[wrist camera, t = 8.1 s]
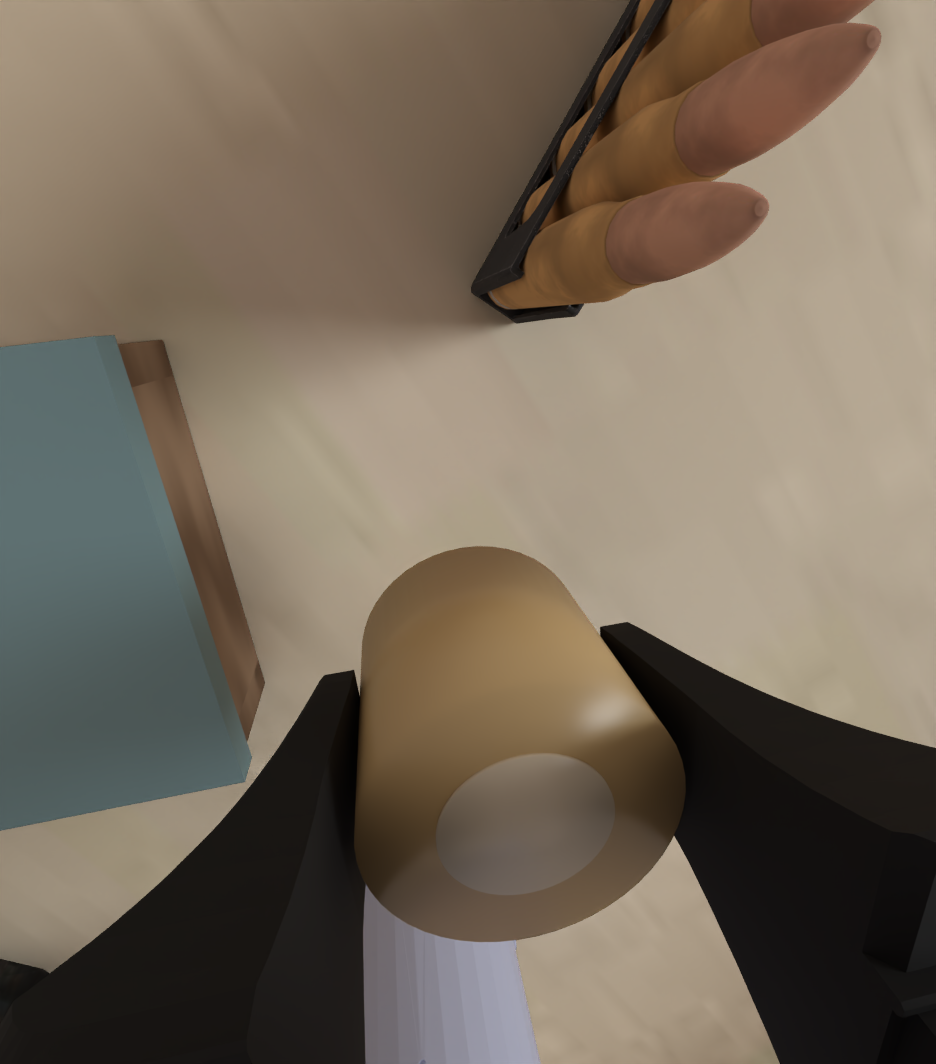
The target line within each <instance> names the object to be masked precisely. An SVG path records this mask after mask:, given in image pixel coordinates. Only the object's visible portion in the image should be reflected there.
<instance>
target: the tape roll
mask: <svg viewBox="0 0 936 1064" xmlns="http://www.w3.org/2000/svg"><path fill="white" fill-rule="evenodd" d="M685 793H686V784H685V772H684V767H683V762H682V759H681V756H680V754H679V751H678V749H677V746H676V744H675V743H674V741H673V739H672V738H671V736H670V735H669V733H668V731H667V730H666V728H665V727H664V726H663V724H662V723H661V721H660V720H659V719H658V717H657V716H656V714H655V713H654V711H653V710H652V709H651V707H650V706H649V704H648V703H647V702H646V700H645V699H644V697H643V696H642V694H641V693H640V692H639V690H638V689H637V687H636V686H635V685H634V683H633V682H632V680H631V679H630V677H629V676H628V675H627V673H626V672H625V670H624V669H623V668H622V666H621V665H620V663H619V662H618V660H617V659H616V658H615V656H614V655H613V653H612V652H611V651H610V649H609V648H608V646H607V645H606V644H605V642H604V641H603V639H602V638H601V636H600V635H599V634H598V632H597V631H596V629H595V628H594V627H593V625H592V624H591V622H590V621H589V619H588V618H587V617H586V615H585V614H584V612H583V611H582V610H581V608H580V607H579V605H578V604H577V602H576V601H575V600H574V598H573V597H572V595H571V594H570V593H569V591H568V590H567V588H566V587H565V585H564V584H563V583H562V582H561V581H560V579H559V578H558V577H557V576H556V575H555V574H554V573H553V572H552V571H550V570H549V569H548V568H547V567H546V566H544V565H543V564H541V563H540V562H538V561H536V560H535V559H533V558H531V557H529V556H526V555H524V554H522V553H519V552H515V551H512V550H509V549H503V548H497V547H483V546H476V547H465V548H459V549H454V550H450V551H446V552H443V553H440V554H437V555H434V556H432V557H430V558H427V559H425V560H423V561H421V562H419V563H417V564H416V565H414V566H413V567H411V568H410V569H408V570H407V571H405V572H404V573H403V574H402V575H400V576H399V577H398V578H397V579H396V580H394V581H393V582H392V584H391V585H390V586H389V587H388V588H387V589H386V590H385V591H384V592H383V594H382V595H381V597H380V598H379V599H378V601H377V602H376V604H375V606H374V608H373V610H372V611H371V613H370V615H369V618H368V621H367V624H366V627H365V630H364V635H363V640H362V658H361V682H360V707H359V731H358V756H357V780H356V805H355V830H354V848H355V854H356V861H357V864H358V867H359V870H360V873H361V876H362V878H363V880H364V881H365V883H366V885H367V887H368V888H369V890H370V892H371V893H372V894H373V895H374V897H375V898H376V899H377V900H378V901H379V903H380V904H381V905H382V906H384V907H385V908H386V909H387V910H388V911H389V912H390V913H392V914H393V915H394V916H396V917H397V918H399V919H400V920H402V921H404V922H405V923H407V924H409V925H411V926H413V927H415V928H417V929H419V930H422V931H424V932H427V933H430V934H433V935H437V936H440V937H444V938H449V939H454V940H460V941H471V942H502V941H512V940H520V939H525V938H530V937H536V936H539V935H543V934H547V933H550V932H554V931H557V930H559V929H562V928H565V927H567V926H570V925H573V924H575V923H577V922H579V921H582V920H584V919H586V918H588V917H590V916H592V915H594V914H595V913H597V912H599V911H601V910H602V909H604V908H606V907H607V906H609V905H611V904H612V903H613V902H615V901H616V900H618V899H619V898H620V897H622V896H623V895H625V894H626V893H627V892H628V891H629V890H630V889H632V888H633V887H634V886H635V885H636V884H637V883H639V882H640V881H641V880H642V878H643V877H644V876H645V875H646V874H647V873H648V872H649V871H650V870H651V869H652V868H653V867H654V865H655V864H656V863H657V861H658V860H659V859H660V858H661V856H662V855H663V853H664V852H665V850H666V848H667V847H668V845H669V843H670V842H671V840H672V838H673V836H674V834H675V831H676V829H677V827H678V825H679V822H680V818H681V815H682V811H683V808H684V801H685Z"/></svg>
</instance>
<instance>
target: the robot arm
mask: <svg viewBox="0 0 936 1064" xmlns="http://www.w3.org/2000/svg"><path fill="white" fill-rule="evenodd" d="M600 636H601V638H602V639H603V641H604V642H605V644H606V645H607V646H608V648H609V649H610V651H611V652H612V653H613V655H614V656H615V658H616V659H617V660H618V662H619V663H620V665H621V666H622V668H623V669H624V670H625V672H626V673H627V675H628V676H629V677H630V679H631V680H632V682H633V683H634V685H635V686H636V687H637V689H638V690H639V692H640V693H641V694H642V696H643V697H644V699H645V700H646V702H647V703H648V704H649V706H650V707H651V709H652V710H653V711H654V713H655V714H656V716H657V717H658V719H659V720H660V721H661V723H662V724H663V726H664V727H665V728H666V730H667V731H668V733H669V735H670V736H671V738H672V739H673V741H674V743H675V744H676V746H677V749H678V751H679V754H680V756H681V759H682V762H683V767H684V772H685V784H686V793H685V801H684V808H683V811H682V815H681V818H680V822H679V825H678V827H677V829H676V831H675V834H674V836H675V838H676V840H677V841H678V843H679V845H680V847H681V849H682V850H683V852H684V854H685V856H686V858H687V859H688V861H689V863H690V865H691V867H692V870H693V872H694V874H695V876H696V878H697V880H698V882H699V884H700V886H701V888H702V890H703V892H704V894H705V896H706V898H707V900H708V903H709V905H710V907H711V909H712V911H713V913H714V915H715V917H716V919H717V922H718V924H719V926H720V928H721V930H722V932H723V935H724V937H725V939H726V941H727V943H728V945H729V948H730V950H731V952H732V954H733V956H734V958H735V961H736V963H737V965H738V967H739V969H740V972H741V974H742V976H743V979H744V981H745V983H746V985H747V988H748V990H749V992H750V995H751V997H752V999H753V1002H754V1004H755V1006H756V1008H757V1011H758V1013H759V1015H760V1018H761V1020H762V1022H763V1024H764V1027H765V1029H766V1031H767V1034H768V1036H769V1038H770V1041H771V1043H772V1045H773V1048H774V1050H775V1053H776V1055H777V1058H778V1060H779V1062H780V1064H936V748H933V747H929V746H925V745H921V744H917V743H913V742H909V741H905V740H901V739H898V738H894V737H890V736H887V735H883V734H880V733H876V732H873V731H869V730H866V729H863V728H860V727H857V726H854V725H850V724H847V723H844V722H841V721H838V720H835V719H832V718H829V717H826V716H823V715H820V714H817V713H814V712H812V711H809V710H806V709H804V708H801V707H799V706H796V705H794V704H791V703H788V702H786V701H783V700H781V699H778V698H776V697H773V696H771V695H769V694H766V693H764V692H762V691H759V690H757V689H755V688H753V687H751V686H748V685H746V684H744V683H742V682H740V681H738V680H736V679H734V678H731V677H729V676H727V675H725V674H723V673H721V672H719V671H717V670H715V669H713V668H711V667H709V666H708V665H706V664H704V663H702V662H700V661H698V660H696V659H694V658H692V657H691V656H689V655H687V654H685V653H683V652H681V651H680V650H678V649H676V648H674V647H672V646H671V645H669V644H667V643H665V642H664V641H662V640H660V639H658V638H656V637H655V636H653V635H651V634H649V633H647V632H646V631H644V630H642V629H640V628H638V627H636V626H634V625H632V624H630V623H628V622H625V623H619V624H614V625H608V626H602V627H600ZM359 707H360V696H359V691H358V686H357V682H356V677H355V672H354V670H351V671H346V672H340V673H334V674H329V675H324V676H323V678H322V679H321V680H320V681H319V683H318V685H317V687H316V688H315V690H314V692H313V694H312V695H311V697H310V699H309V700H308V702H307V704H306V705H305V707H304V709H303V710H302V712H301V714H300V715H299V717H298V719H297V720H296V722H295V723H294V725H293V726H292V728H291V729H290V731H289V733H288V734H287V736H286V737H285V739H284V740H283V742H282V743H281V745H280V746H279V748H278V749H277V751H276V752H275V753H274V755H273V756H272V758H271V759H270V760H269V762H268V763H267V764H266V766H265V767H264V768H263V770H262V771H261V773H260V774H259V775H258V777H257V778H256V779H255V781H254V782H253V783H252V785H251V786H250V787H249V789H248V790H247V791H246V792H245V794H244V795H243V796H242V797H241V798H240V800H239V801H238V802H237V803H236V805H235V806H234V807H233V808H232V809H231V810H230V812H229V813H228V814H227V815H226V816H225V817H224V818H223V820H222V821H221V822H220V823H219V824H218V825H217V826H216V827H215V829H214V830H213V831H212V832H211V833H210V834H209V835H208V836H207V837H206V838H205V839H204V840H203V841H202V842H201V843H200V844H199V845H198V846H197V847H196V848H195V849H194V850H193V851H192V852H191V853H190V854H189V855H188V856H187V857H186V858H185V859H184V860H183V861H182V862H181V863H180V864H179V865H178V866H177V867H176V868H175V869H174V870H173V871H172V872H171V873H170V874H169V875H168V876H167V877H166V878H165V879H163V880H162V881H161V882H160V883H159V884H158V885H157V886H156V887H155V888H154V889H152V890H151V891H150V892H149V893H148V894H147V895H146V896H145V897H144V898H142V899H141V900H140V901H139V902H138V903H137V904H136V905H134V906H133V907H132V908H131V909H130V910H129V911H127V912H126V913H125V914H124V915H123V916H122V917H120V918H119V919H118V920H117V921H116V922H115V923H113V924H112V925H111V926H110V927H109V928H107V929H106V930H105V931H104V932H103V933H101V934H100V935H99V936H98V937H96V938H95V939H94V940H93V941H92V942H90V943H89V944H88V945H86V946H85V947H84V948H82V949H81V950H80V951H79V952H77V953H76V954H75V955H73V956H72V957H71V958H69V959H68V960H67V961H66V962H64V963H63V964H62V965H60V966H59V967H58V968H56V969H55V970H54V971H53V972H51V973H50V974H49V975H47V976H46V977H45V978H44V979H42V980H41V981H40V982H38V983H37V984H36V985H34V986H33V987H32V988H30V989H29V990H28V991H26V992H25V993H24V994H22V995H21V996H19V997H18V998H17V999H15V1000H14V1001H13V1003H12V1005H11V1007H10V1008H9V1010H8V1012H7V1013H6V1015H5V1017H4V1018H3V1020H2V1022H1V1024H0V1064H541V1063H540V1058H539V1054H538V1049H537V1045H536V1040H535V1036H534V1031H533V1027H532V1022H531V1018H530V1013H529V1009H528V1004H527V1000H526V995H525V991H524V986H523V982H522V977H521V973H520V968H519V964H518V959H517V955H516V940H512V941H502V942H471V941H460V940H454V939H449V938H444V937H440V936H437V935H433V934H430V933H427V932H424V931H422V930H419V929H417V928H415V927H413V926H411V925H409V924H407V923H405V922H404V921H402V920H400V919H399V918H397V917H396V916H394V915H393V914H392V913H390V912H389V911H388V910H387V909H386V908H385V907H384V906H382V905H381V904H380V903H379V901H378V900H377V899H376V898H375V897H374V895H373V894H372V893H371V892H370V890H369V888H368V887H367V885H366V883H365V881H364V880H363V878H362V876H361V873H360V870H359V867H358V864H357V861H356V854H355V848H354V830H355V805H356V780H357V756H358V731H359Z"/></svg>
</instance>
